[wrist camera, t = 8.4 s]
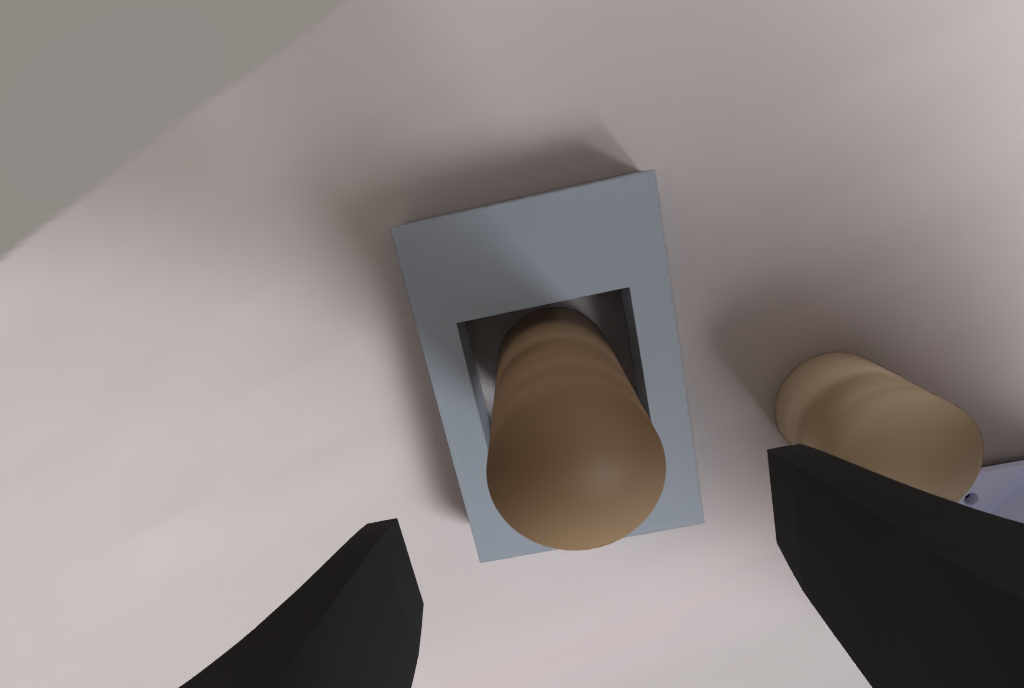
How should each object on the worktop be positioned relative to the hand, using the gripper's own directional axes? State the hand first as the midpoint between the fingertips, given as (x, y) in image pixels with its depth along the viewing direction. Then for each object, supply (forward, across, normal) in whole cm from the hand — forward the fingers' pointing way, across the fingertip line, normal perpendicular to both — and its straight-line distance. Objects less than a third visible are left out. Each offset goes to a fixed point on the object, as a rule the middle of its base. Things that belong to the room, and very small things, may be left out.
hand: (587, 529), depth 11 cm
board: (+10, 0, 0) cm, 10 cm away
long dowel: (+10, 0, 0) cm, 10 cm away
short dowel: (+10, -10, +4) cm, 14 cm away
